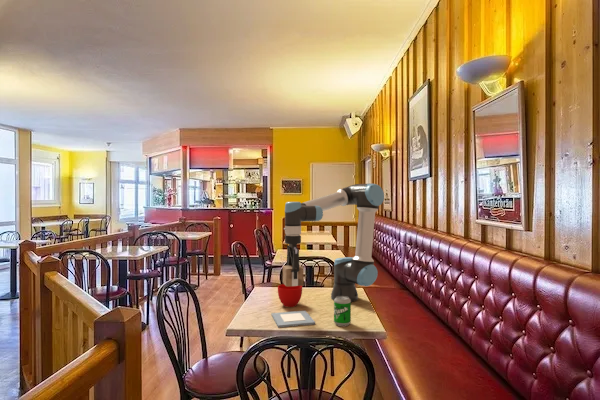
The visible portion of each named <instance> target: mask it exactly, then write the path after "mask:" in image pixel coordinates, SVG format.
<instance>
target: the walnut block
mask: <svg viewBox="0 0 600 400" xmlns="http://www.w3.org/2000/svg"><path fill="white" fill-rule="evenodd" d="M295 269H297V268H295ZM299 269H300V270H299V271H298V286H302V287H303V286H304V267H303V266H301V265H300V264H299ZM291 271H292V265H287V264H286V265H282V284H284V285H285V286H286V287H288V286H292V272H291Z"/></svg>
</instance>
